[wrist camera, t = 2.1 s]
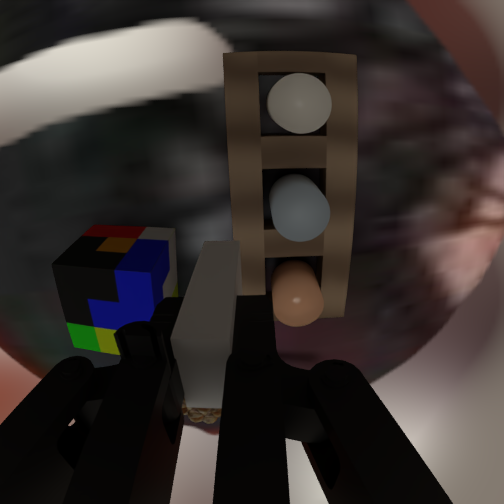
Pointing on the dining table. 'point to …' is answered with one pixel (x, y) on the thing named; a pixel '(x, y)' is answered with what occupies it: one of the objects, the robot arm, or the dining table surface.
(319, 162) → the button board
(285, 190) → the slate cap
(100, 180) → the dining table surface
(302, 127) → the offwhite cap
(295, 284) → the terracotta cap
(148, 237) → the puzzle toy
